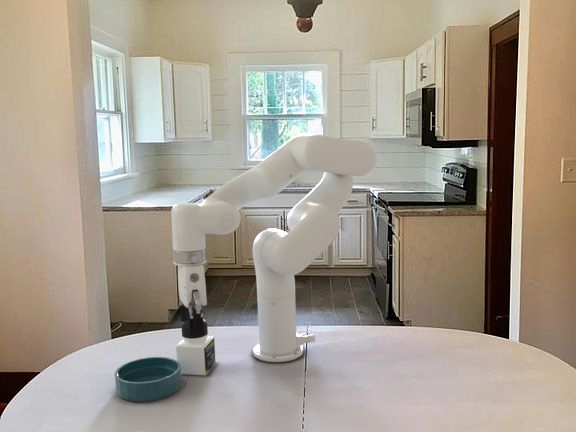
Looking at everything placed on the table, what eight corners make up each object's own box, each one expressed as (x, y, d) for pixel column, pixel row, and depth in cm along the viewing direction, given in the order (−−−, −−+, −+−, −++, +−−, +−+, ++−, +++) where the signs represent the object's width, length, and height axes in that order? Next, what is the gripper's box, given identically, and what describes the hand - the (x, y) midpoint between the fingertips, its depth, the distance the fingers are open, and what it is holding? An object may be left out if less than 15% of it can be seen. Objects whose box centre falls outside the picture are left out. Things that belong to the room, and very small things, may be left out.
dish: (175, 370, 143) (174, 352, 142) (187, 395, 130) (186, 376, 129) (113, 381, 138) (112, 363, 137) (119, 408, 125) (117, 388, 124)
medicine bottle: (206, 376, 139) (203, 326, 137) (177, 374, 141) (174, 325, 139) (216, 363, 146) (213, 316, 144) (188, 362, 148) (185, 315, 146)
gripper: (214, 262, 132) (216, 337, 135) (197, 248, 148) (200, 315, 151) (180, 266, 130) (183, 342, 132) (167, 250, 146) (170, 318, 148)
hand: (192, 327), depth 142 cm, fingers open, 9 cm apart
